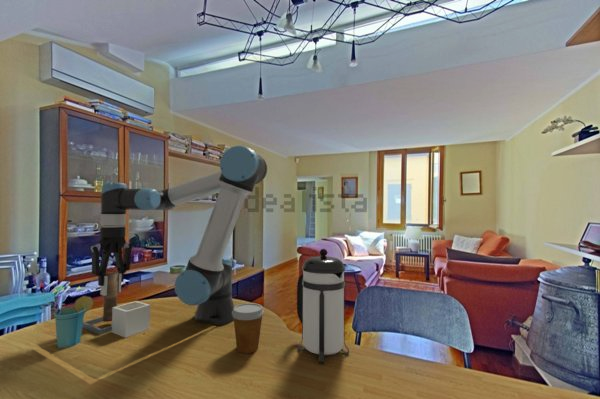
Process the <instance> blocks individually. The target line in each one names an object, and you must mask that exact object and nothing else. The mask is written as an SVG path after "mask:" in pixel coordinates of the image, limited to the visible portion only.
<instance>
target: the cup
mask: <svg viewBox="0 0 600 399" xmlns="http://www.w3.org/2000/svg"><path fill="white" fill-rule="evenodd" d="M94 303H95V301H94V300H93V298H92V297H91V296H87V295H83V296H81V297H79V298H77V299H76V300H75V303H74V304H73V306H72V307H68V308H67V307H66V308H63V309H60V306H59V304H58V302H57V301H54V300H51V301H50V302H47V303H44V304H42V305H41V306H39V307H38V308H39V309H40V310H42V309H45V308H47V307H49V306H52V305H53V306H54V308H55V312H53V317H54V319H55V321H54V322H55V334H56V345H57V348H58V349H66V348H70V347H74V346H77V345H78V344H79V343H81V339H82V334H83V333H82V332H83V327H82V325H83V322H84V317H85V314H86V312H88V311H91V309H92V308H93V305H94Z"/></svg>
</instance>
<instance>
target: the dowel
mask: <svg viewBox="0 0 600 399" xmlns="http://www.w3.org/2000/svg"><path fill="white" fill-rule="evenodd" d="M105 276H108V279H107V295H106V296H104V295H103V309H102V310H103V313H102V315H103V316H102V317H103V322H104V323H105V322H106V323H107V322H112V309H113V307H116V306H118V294H119V292H118V271H113V272H106V274H105Z"/></svg>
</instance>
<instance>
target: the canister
mask: <svg viewBox="0 0 600 399" xmlns="http://www.w3.org/2000/svg"><path fill="white" fill-rule="evenodd" d="M111 326H112V331H111V333H112V334H115V335H118V336H119V337H122V338H129V337H132V336H134V335H138V334H139V333H140V334H141V333H142V332H145V331H148V330H150V327H151V304H149V303H145V302H141V301H138V300H135V301H132V302H127V303H124V304H121V305H117V306H116V307H113V309H112V321H111Z"/></svg>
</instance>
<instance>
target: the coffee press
mask: <svg viewBox="0 0 600 399" xmlns="http://www.w3.org/2000/svg"><path fill="white" fill-rule="evenodd" d="M319 253H320V254H319V255H320V256H319V255H317V256H312V257H309V258H307V259H306V260H305V261H304V262H303V265H301V269H302V274H301V275H299V277H298V279H297V285H296V286H297V289H296V309H297V310H296V311H297V312H296V313H297V318H298V319H299V321H300V322H301V341H300V342H299V344H298V346H297V350H298V351H300V350H301V351H300V352H302V351H303V350H304V349H306V350H307V351H309V353H311V354H315V355H318V364H319V365H324V364H325V356H330V355H336V354H338V353H339V352H340V351H341V352H342V353H343V354H344V355H348V354H349V353H350V350H349V347H348V346H347V344H346V338H345V334H346V332H345V329H346V328H345V326H346V325H345V324H346V323H345V322H346V318H345V317H346V314H345V312H346V306H345V303H346V302H345V300H346V299H345V298H346V297H345V292H346V291H345V290H346V288H345V286H346V281H345V280H346V279H345V271H346V266H345V265H344V263H343V261H342V260H341V259H340V258H337V257H333V256H327V255H328V251H327V249H326V248H321V249H320V251H319ZM302 343H303V347H300V345H301V344H302ZM344 347H345V348H346V350H347V351H345V350H344V349H343V348H344Z"/></svg>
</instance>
